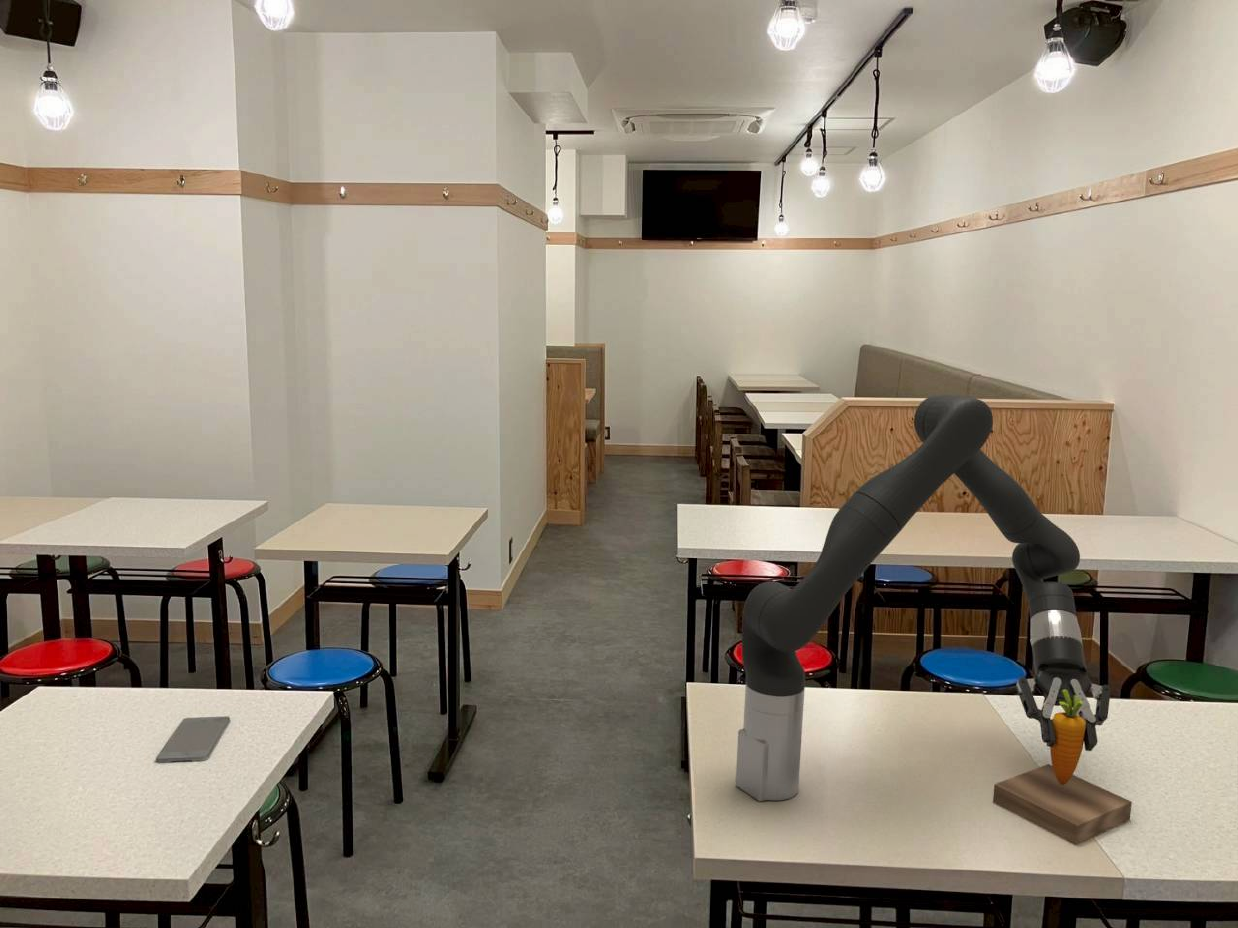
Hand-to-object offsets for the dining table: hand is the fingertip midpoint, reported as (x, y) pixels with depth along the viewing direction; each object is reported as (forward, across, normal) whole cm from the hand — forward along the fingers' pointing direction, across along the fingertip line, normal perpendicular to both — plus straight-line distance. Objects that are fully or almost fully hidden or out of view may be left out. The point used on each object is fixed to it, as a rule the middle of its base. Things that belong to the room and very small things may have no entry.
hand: (1070, 746), depth 144 cm
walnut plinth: (+7, 0, +9) cm, 11 cm away
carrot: (+4, 0, +6) cm, 8 cm away
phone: (+14, -142, +4) cm, 143 cm away
